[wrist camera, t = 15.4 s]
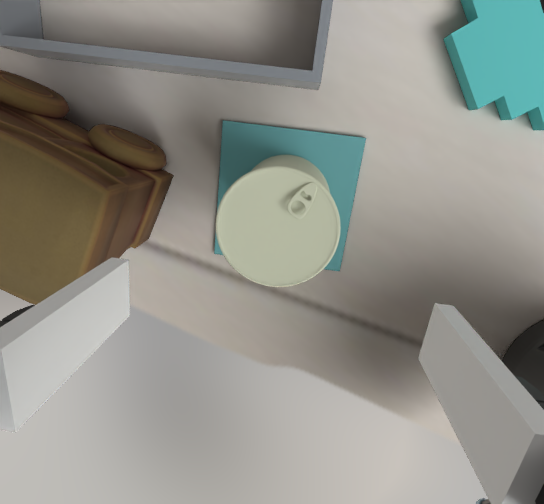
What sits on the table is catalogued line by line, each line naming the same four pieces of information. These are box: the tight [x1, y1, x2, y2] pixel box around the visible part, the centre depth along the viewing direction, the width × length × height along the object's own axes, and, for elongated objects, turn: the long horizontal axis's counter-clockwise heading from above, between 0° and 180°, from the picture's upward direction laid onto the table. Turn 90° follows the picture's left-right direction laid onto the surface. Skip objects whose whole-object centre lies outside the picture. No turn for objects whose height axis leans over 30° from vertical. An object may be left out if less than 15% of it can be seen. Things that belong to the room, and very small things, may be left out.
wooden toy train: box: [0, 70, 174, 305], centre depth 29 cm, size 20×11×17 cm, turn 63°
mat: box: [214, 120, 366, 271], centre depth 36 cm, size 14×14×1 cm
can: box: [216, 155, 341, 287], centre depth 30 cm, size 9×9×12 cm
